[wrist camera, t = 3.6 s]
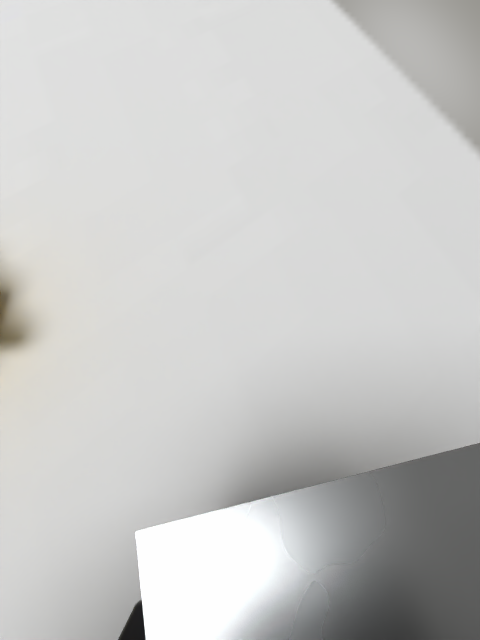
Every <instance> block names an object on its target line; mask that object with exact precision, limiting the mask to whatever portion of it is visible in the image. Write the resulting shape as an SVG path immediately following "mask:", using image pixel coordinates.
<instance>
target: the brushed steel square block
mask: <svg viewBox="0 0 480 640" xmlns="http://www.w3.org/2000/svg"><path fill="white" fill-rule="evenodd" d="M135 536H136V546H137V556H138V565H139V575H140V585H141V595H142V605H143V615H144V625H145V634H146V640H480V443H478V444H474V445H470V446H466V447H463V448H459V449H455V450H451V451H447V452H443V453H439V454H435V455H431V456H427V457H423V458H420V459H416V460H412V461H408V462H404V463H400V464H396V465H392V466H388V467H384V468H380V469H376V470H373V471H369V472H365V473H361V474H357V475H353V476H349V477H345V478H341V479H337V480H333V481H330V482H326V483H322V484H318V485H314V486H310V487H306V488H302V489H298V490H294V491H290V492H287V493H283V494H279V495H275V496H271V497H267V498H263V499H259V500H255V501H251V502H247V503H244V504H240V505H236V506H232V507H228V508H224V509H220V510H216V511H212V512H208V513H204V514H201V515H197V516H193V517H189V518H185V519H181V520H177V521H173V522H169V523H165V524H161V525H158V526H154V527H150V528H146V529H142V530H138V531H135Z"/></svg>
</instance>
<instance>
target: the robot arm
mask: <svg viewBox="0 0 480 640" xmlns="http://www.w3.org/2000/svg"><path fill="white" fill-rule="evenodd" d="M118 640H146V634H145V625H144V615H143V605H142V600H140V601H139V602H138V603H137V604H136V605H135V607H134V609H133V611H132V613H131V615H130V617H129V619H128V621H127V623H126V625H125V627H124V629H123V631H122V633H121V635H120V637H119V639H118Z"/></svg>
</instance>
